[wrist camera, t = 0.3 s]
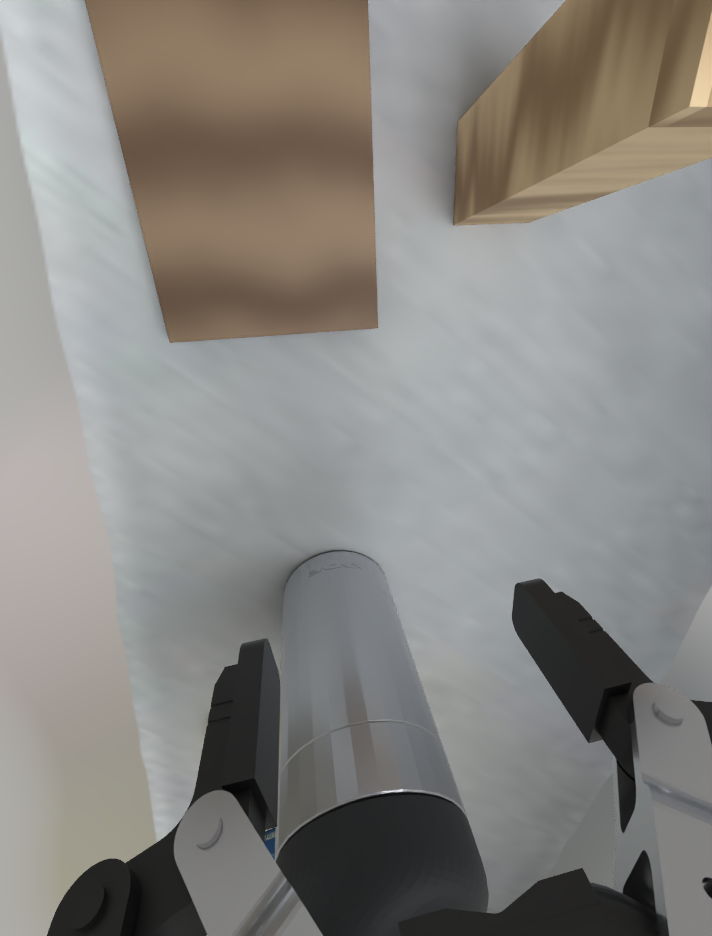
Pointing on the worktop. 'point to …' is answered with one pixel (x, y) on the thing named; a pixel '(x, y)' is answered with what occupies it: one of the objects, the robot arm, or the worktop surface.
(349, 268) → the block
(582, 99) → the wooden square tube
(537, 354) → the worktop surface
